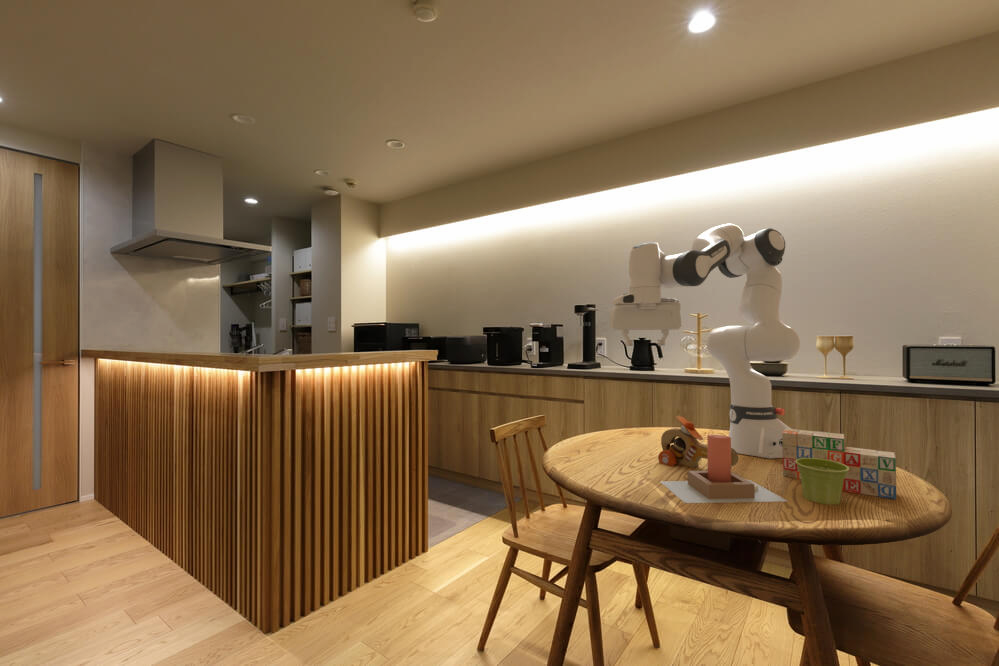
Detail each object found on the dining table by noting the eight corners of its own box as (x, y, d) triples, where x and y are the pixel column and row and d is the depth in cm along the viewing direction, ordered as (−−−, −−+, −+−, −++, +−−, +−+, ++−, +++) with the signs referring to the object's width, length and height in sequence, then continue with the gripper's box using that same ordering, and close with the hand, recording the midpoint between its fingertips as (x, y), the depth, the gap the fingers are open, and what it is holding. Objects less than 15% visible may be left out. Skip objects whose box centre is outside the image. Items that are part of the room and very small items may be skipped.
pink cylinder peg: (723, 486, 105) (723, 434, 105) (735, 493, 100) (735, 439, 100) (703, 487, 104) (703, 434, 105) (714, 494, 100) (714, 439, 100)
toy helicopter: (671, 460, 131) (671, 413, 131) (745, 479, 114) (745, 424, 114) (654, 465, 126) (653, 416, 126) (728, 485, 109) (728, 428, 109)
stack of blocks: (895, 492, 104) (894, 439, 104) (896, 500, 99) (896, 444, 99) (785, 475, 117) (785, 427, 117) (782, 481, 112) (781, 431, 112)
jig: (749, 484, 109) (749, 467, 109) (788, 506, 95) (788, 486, 95) (659, 486, 109) (659, 468, 109) (685, 508, 95) (685, 488, 95)
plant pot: (853, 504, 97) (852, 463, 97) (845, 517, 90) (844, 473, 90) (801, 493, 103) (801, 455, 103) (790, 504, 97) (790, 464, 97)
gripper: (675, 299, 136) (676, 345, 135) (607, 299, 135) (608, 345, 135) (684, 297, 129) (685, 345, 129) (613, 297, 129) (614, 346, 128)
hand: (645, 345), depth 132 cm, fingers open, 8 cm apart
